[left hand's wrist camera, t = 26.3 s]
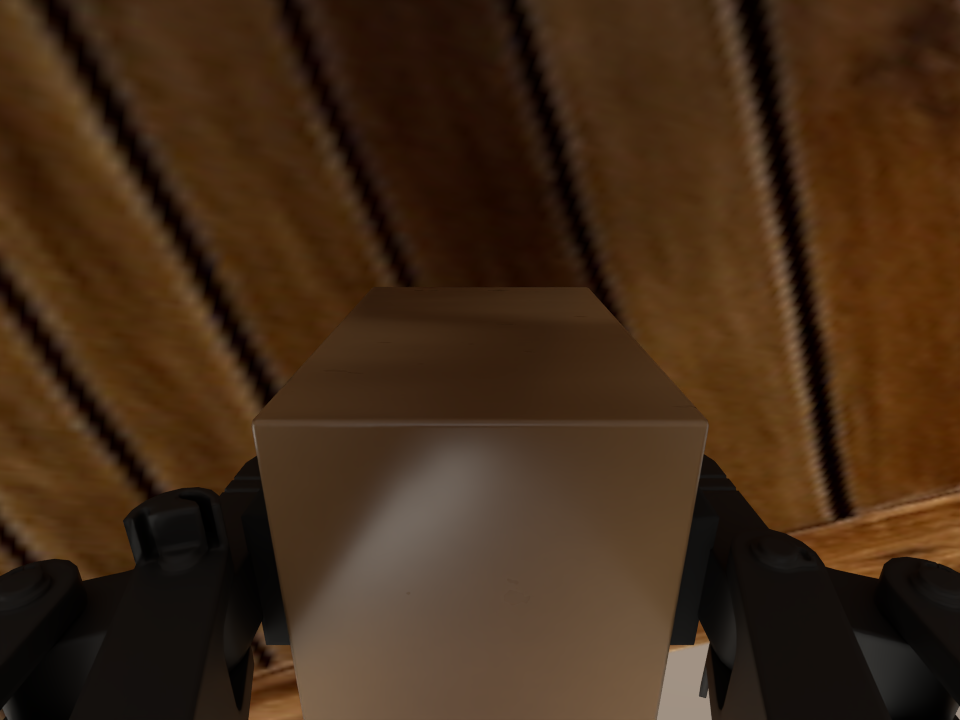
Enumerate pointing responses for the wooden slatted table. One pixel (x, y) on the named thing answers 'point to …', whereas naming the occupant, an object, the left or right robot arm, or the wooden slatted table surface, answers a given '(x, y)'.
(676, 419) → the light brown block
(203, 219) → the wooden slatted table surface
